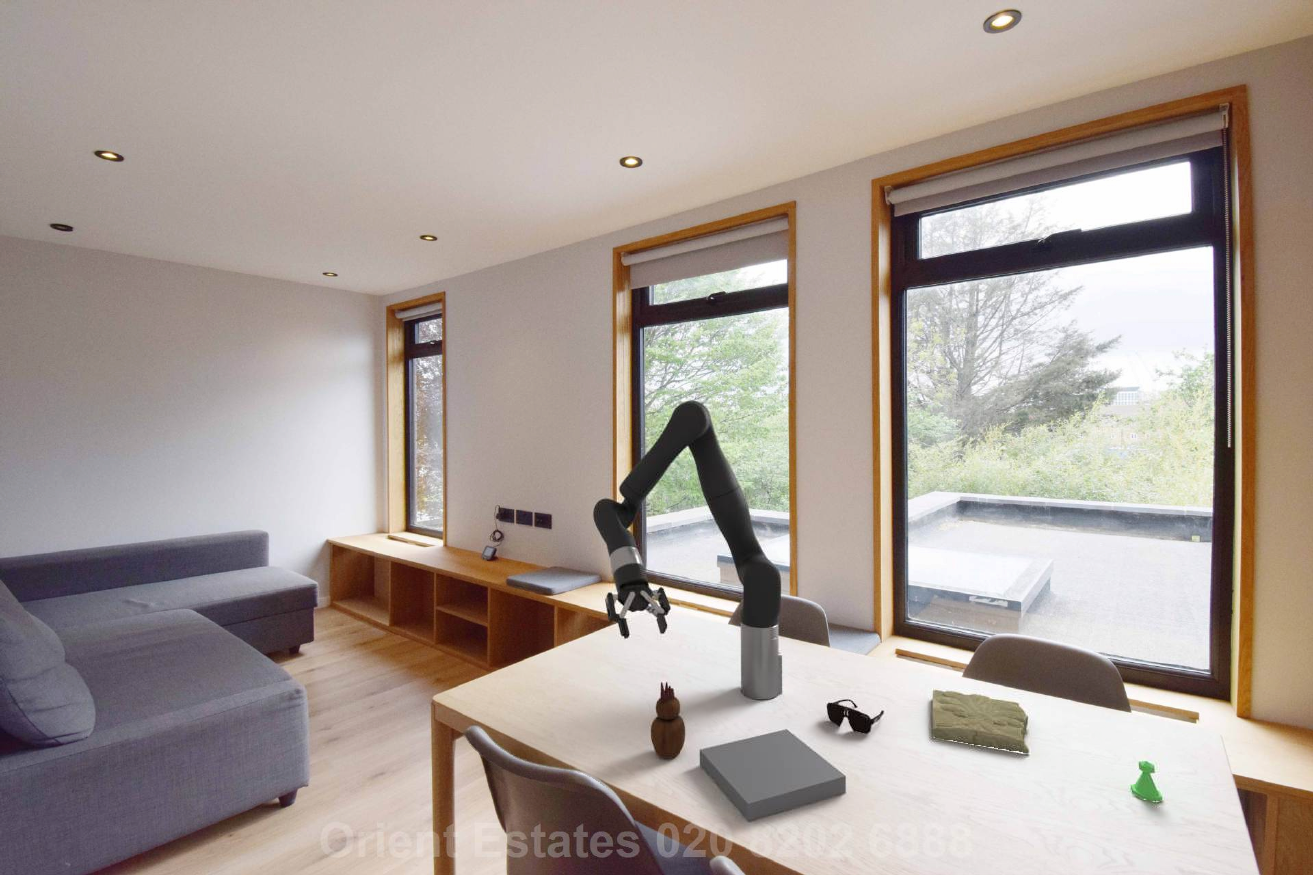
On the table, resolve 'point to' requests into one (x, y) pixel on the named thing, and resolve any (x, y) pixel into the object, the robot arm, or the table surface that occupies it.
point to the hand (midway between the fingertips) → (645, 634)
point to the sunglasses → (851, 716)
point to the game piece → (1146, 783)
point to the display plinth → (771, 774)
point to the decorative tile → (979, 720)
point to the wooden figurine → (668, 725)
